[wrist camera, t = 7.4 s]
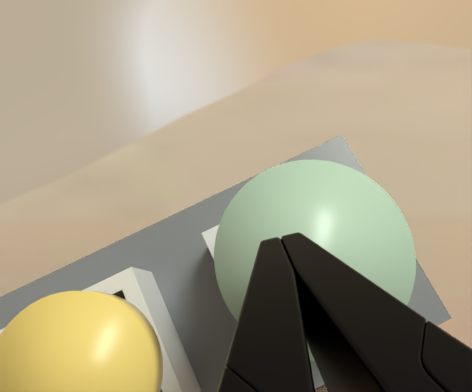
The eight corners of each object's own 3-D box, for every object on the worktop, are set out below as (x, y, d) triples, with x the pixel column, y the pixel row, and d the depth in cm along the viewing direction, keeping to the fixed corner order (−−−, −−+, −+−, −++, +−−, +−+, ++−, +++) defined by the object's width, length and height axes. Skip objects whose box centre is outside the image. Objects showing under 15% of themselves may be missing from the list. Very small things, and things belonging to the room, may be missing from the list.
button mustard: (200, 391, 16) (180, 425, 12) (79, 453, 16) (13, 511, 12) (150, 271, 17) (115, 263, 13) (37, 326, 17) (-38, 336, 13)
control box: (414, 314, 20) (493, 322, 14) (-78, 568, 19) (-265, 720, 12) (327, 162, 23) (358, 104, 16) (-121, 377, 21) (-301, 415, 14)
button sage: (395, 301, 14) (456, 303, 10) (264, 368, 14) (269, 400, 10) (325, 176, 16) (351, 129, 11) (203, 234, 15) (182, 210, 11)
